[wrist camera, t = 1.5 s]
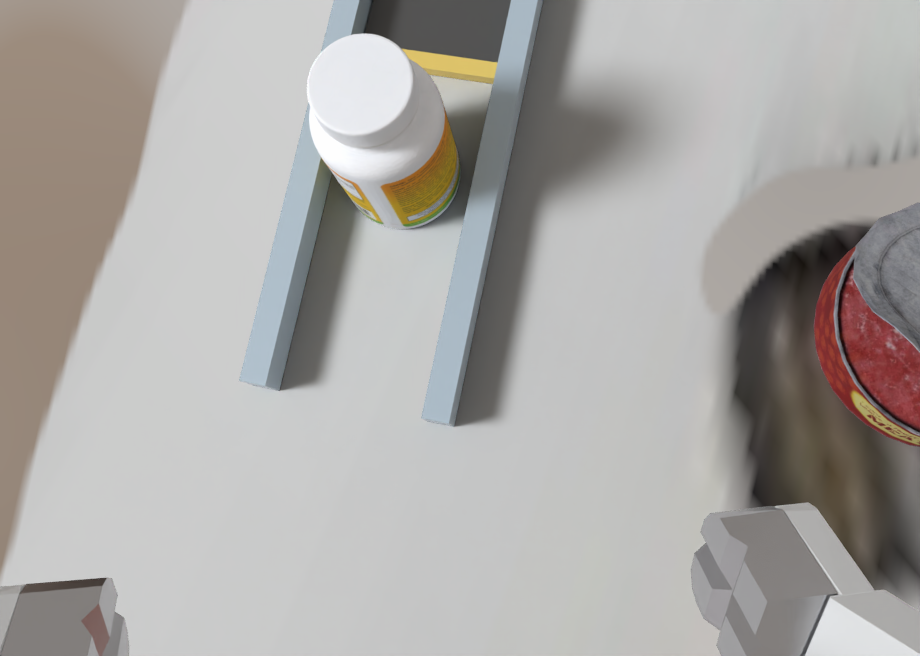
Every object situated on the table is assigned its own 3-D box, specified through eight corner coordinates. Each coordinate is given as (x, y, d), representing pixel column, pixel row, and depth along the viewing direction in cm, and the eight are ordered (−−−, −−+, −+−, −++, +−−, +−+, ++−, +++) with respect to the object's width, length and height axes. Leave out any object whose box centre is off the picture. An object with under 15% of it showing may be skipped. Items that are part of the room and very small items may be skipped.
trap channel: (370, -83, 43) (361, -110, 41) (555, -60, 42) (555, -87, 40) (254, 385, 39) (238, 380, 37) (454, 426, 38) (448, 423, 36)
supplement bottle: (469, 128, 40) (444, 19, 31) (453, 238, 40) (421, 160, 30) (359, 117, 41) (300, 7, 32) (340, 225, 40) (274, 145, 31)
